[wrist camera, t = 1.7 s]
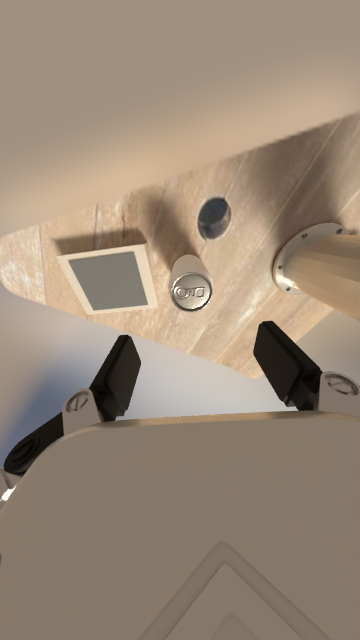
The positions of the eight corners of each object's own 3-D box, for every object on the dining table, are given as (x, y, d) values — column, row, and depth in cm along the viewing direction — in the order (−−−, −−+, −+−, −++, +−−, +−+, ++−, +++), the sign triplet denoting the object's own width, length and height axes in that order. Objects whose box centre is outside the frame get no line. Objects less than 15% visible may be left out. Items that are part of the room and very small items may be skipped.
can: (171, 254, 27) (165, 269, 17) (205, 253, 27) (219, 267, 17) (173, 286, 31) (168, 315, 20) (203, 286, 30) (213, 314, 20)
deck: (147, 242, 26) (143, 244, 23) (160, 301, 32) (158, 308, 30) (67, 254, 27) (54, 256, 25) (94, 308, 34) (86, 315, 31)
